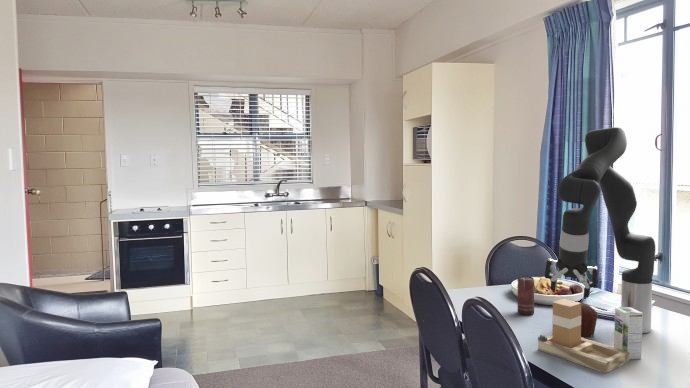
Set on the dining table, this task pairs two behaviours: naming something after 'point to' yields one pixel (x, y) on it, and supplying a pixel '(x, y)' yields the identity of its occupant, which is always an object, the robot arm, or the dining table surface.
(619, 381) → the dining table surface
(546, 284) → the bowl
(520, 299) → the can
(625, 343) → the syrup box
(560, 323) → the tan cardboard box
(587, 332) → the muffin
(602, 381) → the dining table surface
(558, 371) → the dining table surface
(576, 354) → the pallet
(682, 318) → the dining table surface
